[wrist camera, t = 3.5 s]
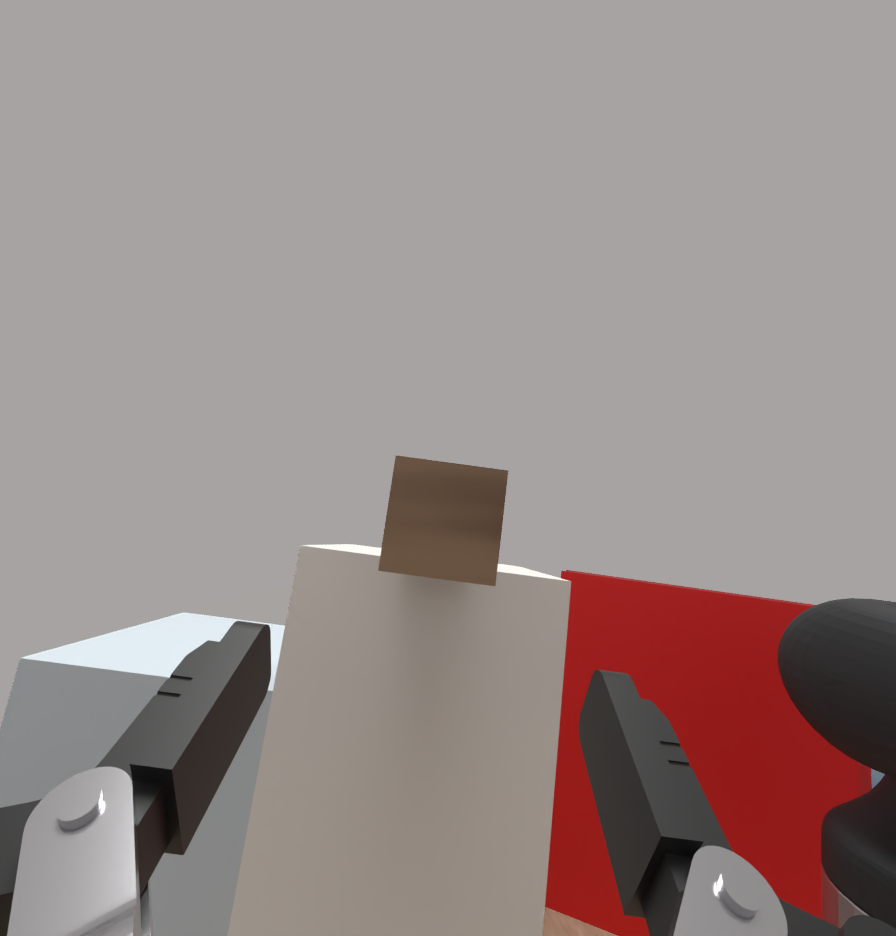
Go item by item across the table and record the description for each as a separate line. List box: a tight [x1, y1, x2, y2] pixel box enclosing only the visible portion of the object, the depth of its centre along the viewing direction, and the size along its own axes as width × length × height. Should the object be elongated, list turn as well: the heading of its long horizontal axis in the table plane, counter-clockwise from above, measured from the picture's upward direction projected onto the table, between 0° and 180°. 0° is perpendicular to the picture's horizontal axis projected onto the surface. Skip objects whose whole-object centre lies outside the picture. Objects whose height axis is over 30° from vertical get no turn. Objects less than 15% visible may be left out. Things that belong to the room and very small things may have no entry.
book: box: [545, 570, 872, 936], centre depth 45 cm, size 27×8×32 cm, turn 71°
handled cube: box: [378, 456, 508, 586], centre depth 28 cm, size 25×6×6 cm, turn 2°
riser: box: [0, 544, 571, 936], centre depth 31 cm, size 16×30×32 cm, turn 92°
